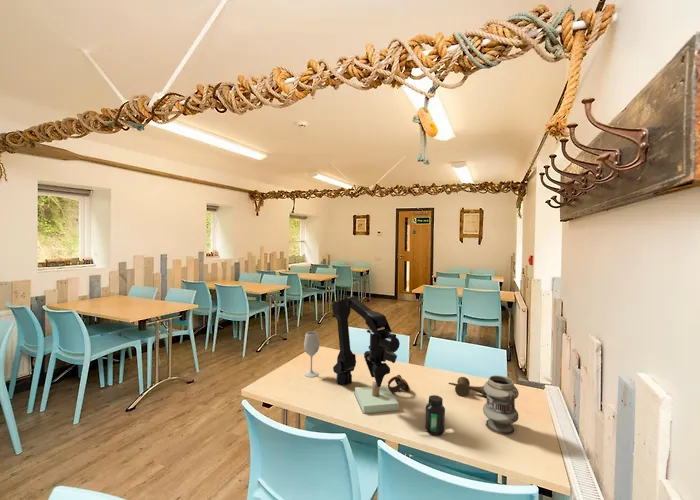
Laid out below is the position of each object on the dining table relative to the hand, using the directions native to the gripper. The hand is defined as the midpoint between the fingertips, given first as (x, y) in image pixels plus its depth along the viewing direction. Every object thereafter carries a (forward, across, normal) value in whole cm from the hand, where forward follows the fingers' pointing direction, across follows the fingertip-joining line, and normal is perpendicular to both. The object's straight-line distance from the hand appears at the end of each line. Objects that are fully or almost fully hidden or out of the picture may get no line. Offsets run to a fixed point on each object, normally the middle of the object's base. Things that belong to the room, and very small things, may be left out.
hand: (375, 381), depth 138 cm
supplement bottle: (+9, -22, -16) cm, 29 cm away
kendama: (+10, +2, -45) cm, 46 cm away
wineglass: (+10, +34, +24) cm, 43 cm away
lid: (+8, 0, 0) cm, 8 cm away
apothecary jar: (+9, -24, -41) cm, 49 cm away
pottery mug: (+10, +8, -14) cm, 19 cm away
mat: (+9, 0, 0) cm, 9 cm away
